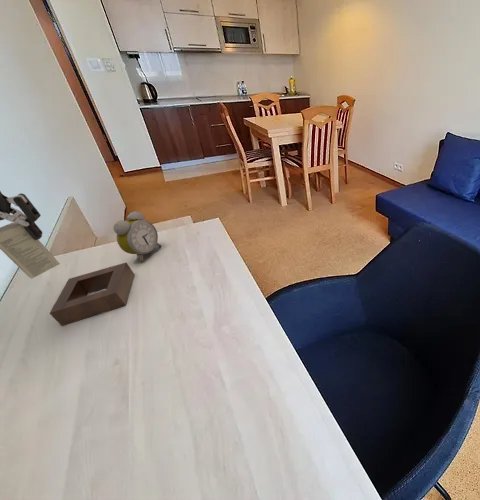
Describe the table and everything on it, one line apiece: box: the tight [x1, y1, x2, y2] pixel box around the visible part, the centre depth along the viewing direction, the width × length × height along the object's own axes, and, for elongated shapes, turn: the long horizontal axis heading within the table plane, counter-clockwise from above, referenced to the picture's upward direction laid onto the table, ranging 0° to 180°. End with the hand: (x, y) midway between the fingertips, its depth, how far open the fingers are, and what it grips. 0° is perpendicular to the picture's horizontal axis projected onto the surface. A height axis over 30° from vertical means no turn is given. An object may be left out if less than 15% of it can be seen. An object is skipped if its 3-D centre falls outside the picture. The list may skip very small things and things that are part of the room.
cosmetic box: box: [0, 222, 61, 280], centre depth 71 cm, size 6×4×12 cm
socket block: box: [49, 262, 135, 327], centre depth 88 cm, size 16×16×5 cm
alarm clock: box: [112, 210, 162, 263], centre depth 102 cm, size 12×7×15 cm, turn 171°
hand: (18, 243), depth 70 cm, fingers closed on cosmetic box, 7 cm apart
